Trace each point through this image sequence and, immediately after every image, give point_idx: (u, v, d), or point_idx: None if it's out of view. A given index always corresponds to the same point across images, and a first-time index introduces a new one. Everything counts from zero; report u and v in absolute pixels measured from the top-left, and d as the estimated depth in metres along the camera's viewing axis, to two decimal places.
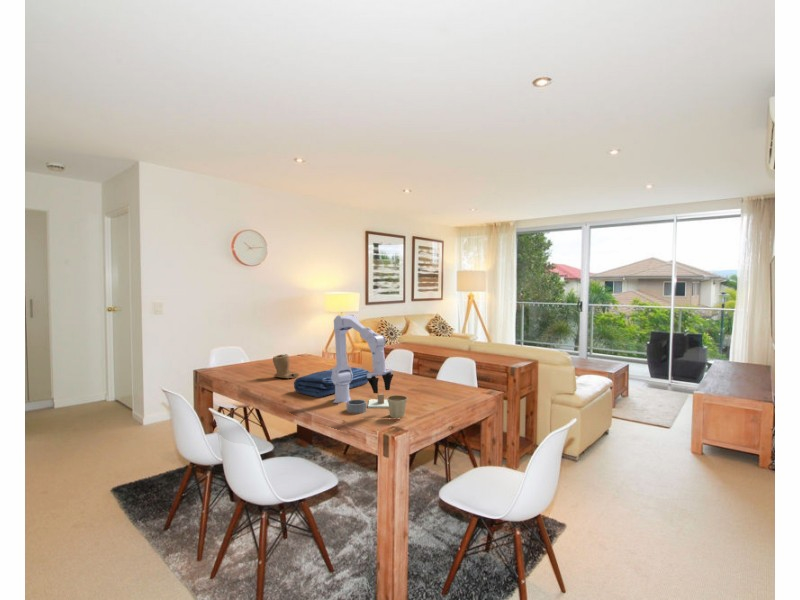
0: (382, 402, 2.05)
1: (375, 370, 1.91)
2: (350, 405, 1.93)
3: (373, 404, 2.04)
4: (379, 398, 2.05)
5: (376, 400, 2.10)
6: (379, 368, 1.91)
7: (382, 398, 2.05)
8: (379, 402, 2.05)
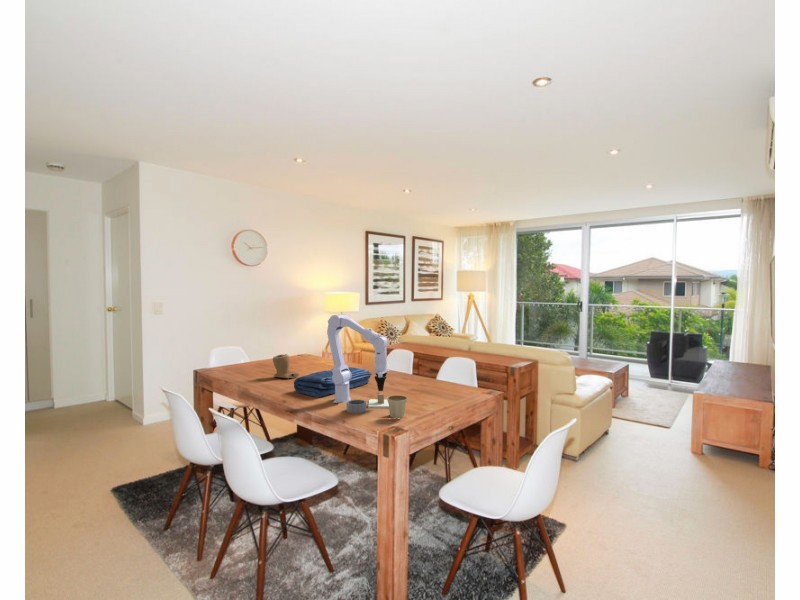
0: (382, 402, 2.05)
1: (381, 369, 2.04)
2: (350, 405, 1.93)
3: (373, 404, 2.04)
4: (379, 398, 2.05)
5: (376, 400, 2.10)
6: (384, 367, 2.04)
7: (382, 398, 2.05)
8: (379, 402, 2.05)
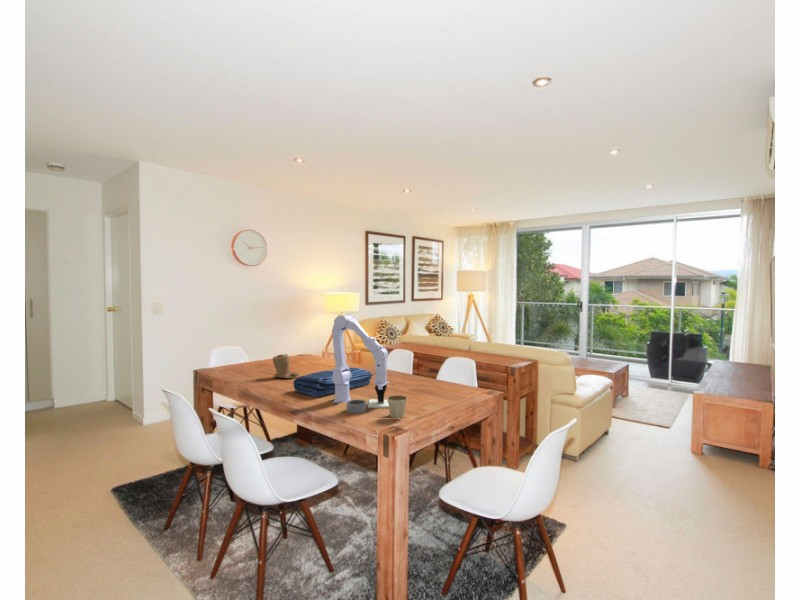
0: (382, 402, 2.05)
1: (381, 381, 2.04)
2: (350, 405, 1.93)
3: (373, 404, 2.04)
4: None
5: (376, 400, 2.10)
6: (384, 379, 2.05)
7: None
8: (379, 402, 2.05)
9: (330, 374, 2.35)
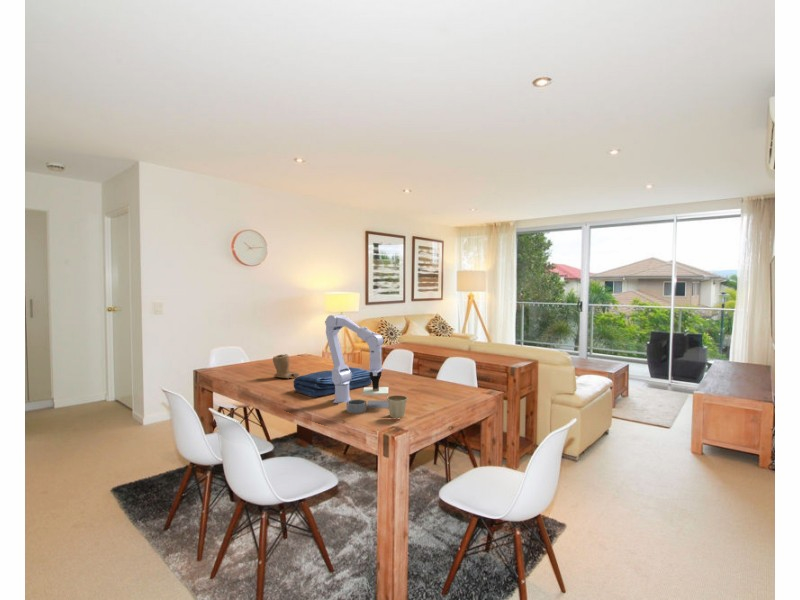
0: (377, 389, 2.03)
1: (375, 368, 2.01)
2: (350, 405, 1.93)
3: (368, 391, 2.01)
4: None
5: (371, 388, 2.08)
6: (379, 365, 2.02)
7: None
8: (374, 389, 2.03)
9: (329, 374, 2.34)
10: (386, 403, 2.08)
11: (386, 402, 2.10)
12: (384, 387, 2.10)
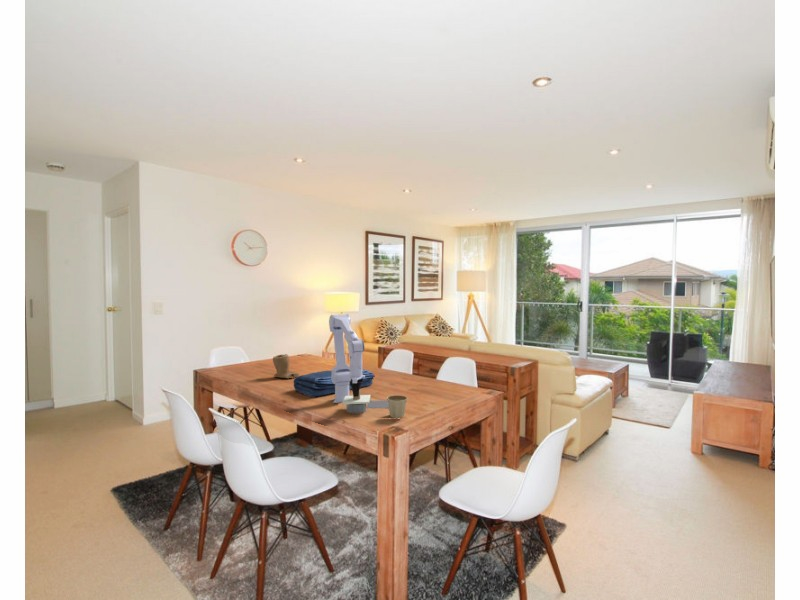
0: (358, 398, 1.95)
1: (356, 375, 1.94)
2: (350, 405, 1.93)
3: (348, 400, 1.94)
4: None
5: (353, 396, 2.00)
6: (360, 372, 1.94)
7: None
8: (354, 398, 1.95)
9: (329, 374, 2.34)
10: (386, 403, 2.08)
11: (386, 402, 2.10)
12: (366, 395, 2.02)
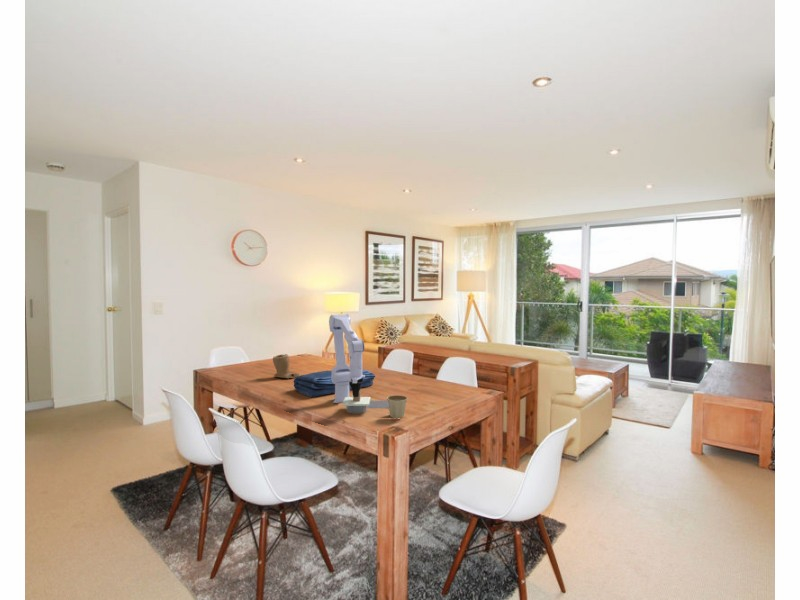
0: (358, 400, 1.95)
1: (356, 375, 1.94)
2: None
3: (348, 402, 1.94)
4: None
5: (353, 398, 2.00)
6: (360, 372, 1.94)
7: (358, 396, 1.95)
8: (355, 400, 1.95)
9: (328, 374, 2.34)
10: (386, 403, 2.08)
11: (386, 402, 2.10)
12: (366, 397, 2.02)
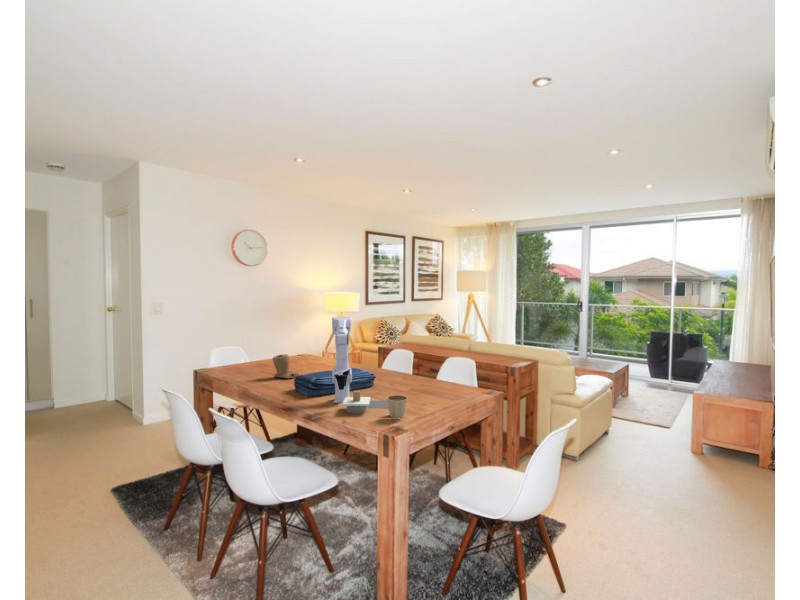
0: (358, 400, 1.95)
1: (341, 367, 1.97)
2: None
3: (348, 402, 1.94)
4: (354, 396, 1.95)
5: (353, 398, 2.00)
6: (346, 365, 1.98)
7: (358, 396, 1.95)
8: (355, 400, 1.95)
9: (328, 374, 2.34)
10: (386, 403, 2.08)
11: (386, 402, 2.10)
12: (366, 397, 2.02)
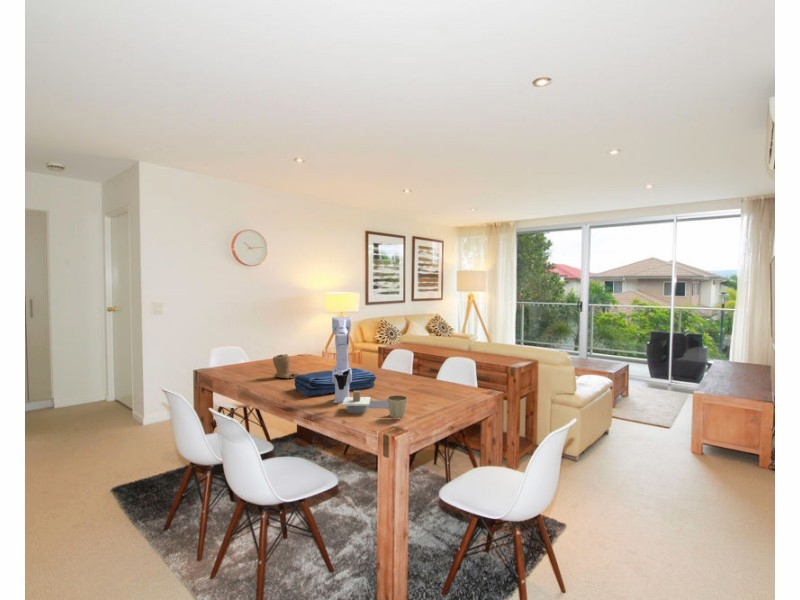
0: (358, 400, 1.95)
1: (341, 367, 1.97)
2: None
3: (348, 402, 1.94)
4: (354, 396, 1.95)
5: (353, 398, 2.00)
6: (346, 365, 1.98)
7: (358, 396, 1.95)
8: (355, 400, 1.95)
9: (327, 374, 2.34)
10: (386, 403, 2.08)
11: (386, 402, 2.10)
12: (366, 397, 2.02)
